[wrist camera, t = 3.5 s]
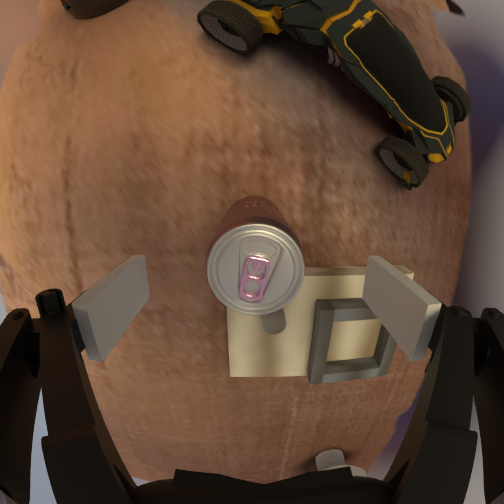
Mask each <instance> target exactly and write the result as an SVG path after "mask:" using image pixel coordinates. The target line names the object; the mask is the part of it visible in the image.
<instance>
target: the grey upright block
mask: <svg viewBox="0 0 504 504" xmlns="http://www.w3.org/2000/svg"><path fill="white" fill-rule="evenodd" d="M315 459H316V466H317V471H323V470H329V469H336V468H342V467H347V466H350V468H351V471H352V475H353V476H363V477H367V475H366V472H365V470H363V469H361V468H359V467H355V466H351V465H345V461H344V456H343V453H342V451H341V450H339V449H330V450H326V451H324V452H321V453H320V454H318V455H317V456H316V458H315Z"/></svg>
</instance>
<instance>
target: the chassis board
mask: <svg viewBox="0 0 504 504" xmlns="http://www.w3.org/2000/svg"><path fill="white" fill-rule="evenodd" d="M393 266H394V267H395V268H397V269H398V270H400V271H401V272H402V273H404V274H405V275H406V276H408V277H409V278H410V279H412V280H413V276H414V273H413V272H411V271H410V270H409V269H407V268H406V267H404V266H403V265H393ZM366 267H367V266H305V274H304V279H303V283H302V286H301V288H300V290H299V292H298V293H297V295H296V296H295V297H294V298H293V300H292V301H291V302H289V303H288V304H287V305H286V306H284V307H283V308H281V309H279V310H277V311H275V312H272V313H269V314H264V315H247V314H242V313H239V312H236V311H234V310H232V309H230V308H228V307H227V328H228V347H229V365H230V377H282V376H304V375H308V379H309V383H310V384H318V383H329V382H339V381H348V380H355V379H363V378H369V377H376V376H382V375H386V374H387V372H388V369H389V366H390V363H391V360H392V357H393V354H394V351H395V348H396V345H397V342H396V341H395V340H394V338H393V337H392V336H391V334H390V333H389V332H388V331H387V329H386V328H385V327H384V325H383V324H382V323H381V322H380V320H379V319H378V318H377V316H376V315H375V314H374V313H373V311H372V310H371V309H370V308H369V306H368V305H367V304H366V303H365V301H364V300H363V299H362V294H363V288H364V282H365V275H366Z"/></svg>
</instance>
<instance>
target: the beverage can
mask: <svg viewBox="0 0 504 504" xmlns="http://www.w3.org/2000/svg"><path fill="white" fill-rule="evenodd" d="M206 268H207V278H208V282H209V285H210V287H211V289H212V291H213V293H214V294H215V296H216V297H217V298H218V299H219V300H220V301H221V302H222V303H223V304H224V305H225V306H227V307H228V308H230V309H232V310H234V311H236V312H239V313H242V314H247V315H264V314H269V313H272V312H275V311H277V310H279V309H281V308H283V307H284V306H286V305H287V304H288V303H289V302H291V301H292V300H293V298H294V297H295V296H296V295H297V293H298V292H299V290H300V288H301V286H302V283H303V279H304V274H305V257H304V252H303V248H302V246H301V244H300V242H299V240H298V238H297V237H296V235H295V234H294V232H293V231H292V229H291V228H290V226H289V224H288V223H287V221H286V220H285V218H284V217H283V215H282V214H281V212H280V211H279V209H278V208H277V207H276V206H275V204H273V203H272V202H271V201H269V200H268V199H266V198H263V197H259V196H250V197H246V198H243V199H241V200H239V201H238V202H237V203H235V204H234V205H233V207H232V208H231V209H230V211H229V213H228V214H227V216H226V218H225V219H224V221H223V223H222V225H221V226H220V228H219V230H218V232H217V233H216V235H215V237H214V239H213V240H212V242H211V244H210V246H209V249H208V252H207V258H206Z"/></svg>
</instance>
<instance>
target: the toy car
mask: <svg viewBox="0 0 504 504" xmlns="http://www.w3.org/2000/svg"><path fill="white" fill-rule="evenodd" d="M197 22H198V23H199V24H200V26H201V27H202V28H203V30H204V31H205V32H206V33H207V34H208V35H209V36H211V37H212V38H213V39H214V40H215V41H217V42H218V43H220V44H222V45H224V46H225V47H227V48H228V49H230V50H231V51H233V52H236V53H239V54H248V53H249V52H250V51H252V50H253V49H254V48H255V47H256V46H257V45H258V44H260V43H261V41H262V38H263V33H274V34H279V33H280V32H281V31H283V30H285V31H286V32H287V33H288V34H290V35H291V36H292V37H293V38H295V39H296V40H297V41H300V40H302V41H303V42H306V43H309V44H312V45H318V46H323V47H325V48H326V49H328V53H329V59H328V60H327V62H328V63H329V64H332V63H333V62H334V60H336V62H335V63H334V66H335V67H338V66H339V65H341V66H342V67H341V68H340V69H341V71H343V72H344V71H345V73H346V75H347V76H348V78H349V80H350V81H351V82H353V83H354V84H355V85H357V86H358V87H359V88H360V89H362V90H363V91H364V92H365V93H367V94H368V95H369V96H371V97H372V98H374V99H375V100H376V101H378V102H379V103H381V104H382V105H383V106H384V108H385V109H386V111H387V113H388V115H389V117H390V118H394V119H395V120H396V121H397V122H398V123H399V124H400V126H401V127H402V129H403V131H404V132H405V133H404V135H403V137H402V139H400V138H397V137H395V136H389V137H386V138H385V139H384V140H383V142H382V143H381V144H380V145H379V147H378V148H377V154H378V157H379V159H380V161H381V162H382V163H383V164H384V165H385V166H386V167H387V169H388V170H389V171H390V172H391V173H392V174H393V175H394V176H395V177H396V178H397V179H399V180H400V181H402V182H403V183H404V187H405V188H406V189H408V190H410V191H411V190H412V187H415V188H416V187H419V186H420V184H421V183H422V182H423V180H424V179H425V178H426V176H427V174H428V173H429V170H428V165H427V162H431V161H432V162H435V163H438V162H441V161H445V160H446V159H447V157H448V154H449V152H450V151H451V150H452V149H453V148H454V146H455V135H454V126H455V125H456V124H457V122H460V121H464V119H465V118H466V116H467V115H468V114H469V112H470V109H471V103H470V99H469V96H468V95H467V93H466V92H465V91H464V89H463V88H462V87H461V86H460V85H459V84H458V83H456V82H455V81H453V80H452V79H450V78H448V77H442V76H437V77H434V78H433V79H432V80H431V81H430V79H429V77H428V76H427V74H426V73H425V71H424V70H423V68H422V65H421V63H420V60H419V58H418V56H417V54H416V53H415V51H414V49H413V47H412V46H411V44H410V43H409V41H408V40H407V38H406V37H405V35H404V34H403V33H402V32H401V31H400V30H399V29H398V28H397V27H396V26H395V25H394V24H393V23H392V21H391V20H390V18H389V17H388V16H387V15H386V14H385V13H384V12H383V11H382V10H381V9H380V8H379V7H378V6H376V5H375V4H374V3H373V2H372V1H371V0H221V1H220V0H217V1H212V2H211V3H210V4H208V5H207V6H206V7H205V8H203V9H202V10H201V11H200V12H199V13H198V15H197Z"/></svg>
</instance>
